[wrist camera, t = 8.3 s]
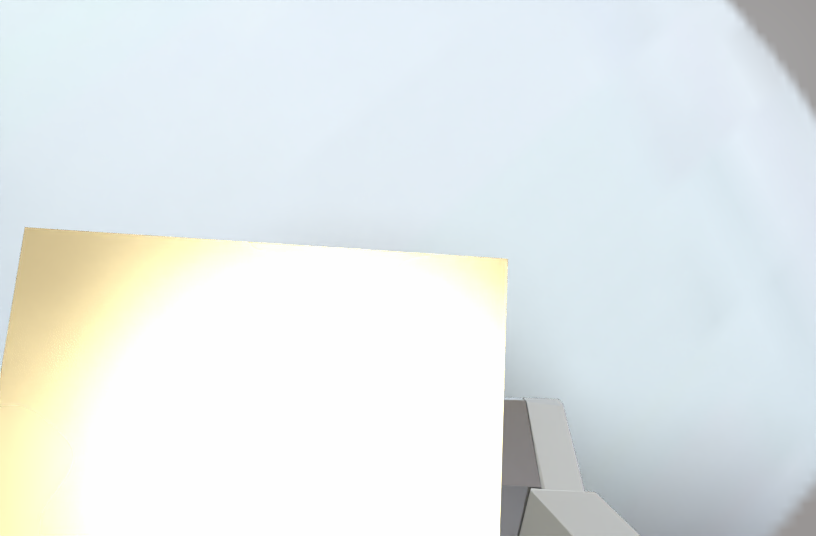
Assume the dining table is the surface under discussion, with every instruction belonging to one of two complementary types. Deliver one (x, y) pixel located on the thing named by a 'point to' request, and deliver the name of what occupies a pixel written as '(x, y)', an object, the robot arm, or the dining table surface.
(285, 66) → the dining table surface
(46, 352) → the brass peg
